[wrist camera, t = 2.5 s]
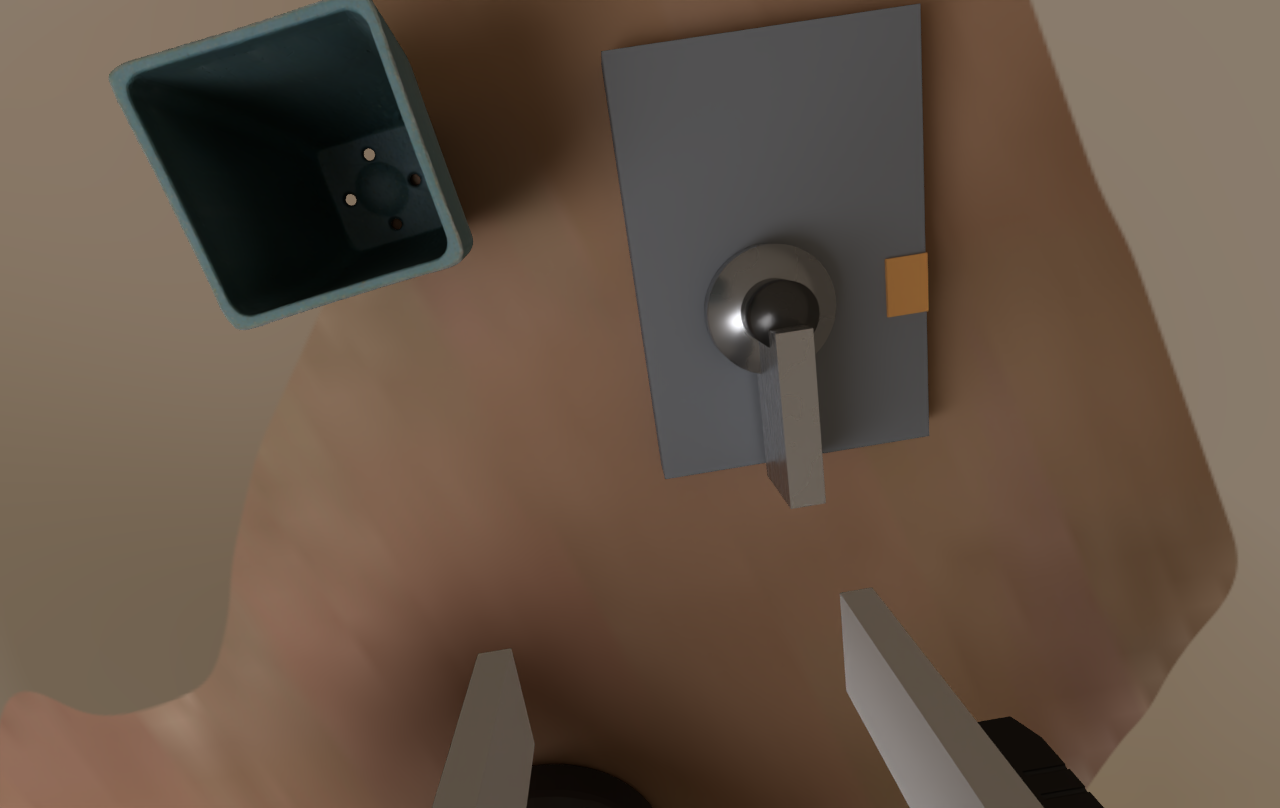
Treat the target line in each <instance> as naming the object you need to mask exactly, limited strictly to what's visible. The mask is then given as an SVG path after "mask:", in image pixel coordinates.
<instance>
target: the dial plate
mask: <svg viewBox="0 0 1280 808" xmlns="http://www.w3.org/2000/svg"><path fill="white" fill-rule="evenodd" d="M601 65H602V72H603V78H604V85H605V92H606V98H607V105H608V112H609V118H610V125H611V132H612V138H613V145H614V152H615V158H616V165H617V171H618V178H619V185H620V191H621V198H622V205H623V211H624V218H625V225H626V231H627V238H628V245H629V251H630V258H631V265H632V271H633V278H634V285H635V291H636V298H637V305H638V311H639V318H640V325H641V331H642V338H643V345H644V351H645V358H646V365H647V371H648V378H649V385H650V391H651V398H652V405H653V411H654V418H655V425H656V431H657V438H658V445H659V451H660V458H661V465H662V469H663V472H664V476H665V479H669V478H675V477H681V476H687V475H694V474H700V473H706V472H712V471H718V470H724V469H730V468H736V467H742V466H748V465H754V464H761V463H766V458H765V448H764V438H763V428H762V418H761V407H760V397H759V387H758V377H757V373H753V372H750V371H747V370H745V369H742V368H740V367H738V366H737V365H735V364H734V363H732V362H731V361H730V360H729V359H728V358H726V357H725V356H724V355H723V354H722V353H721V352H720V351H719V350H718V348H717V347H716V346H715V344H714V343H713V341H712V340H711V338H710V336H709V334H708V331H707V327H706V323H705V318H704V303H705V297H706V293H707V290H708V287H709V284H710V282H711V280H712V278H713V276H714V275H715V273H716V272H717V270H718V269H719V268H720V267H721V266H722V264H723V263H724V262H726V261H727V260H728V259H729V258H730V257H731V256H733V255H734V254H736V253H737V252H739V251H741V250H743V249H746V248H748V247H751V246H755V245H759V244H786V245H791V246H794V247H797V248H800V249H802V250H804V251H806V252H808V253H809V254H811V255H812V256H814V257H815V258H816V259H817V260H818V261H819V262H820V263H821V264H822V265H823V267H824V268H825V269H826V271H827V273H828V274H829V276H830V278H831V281H832V283H833V286H834V290H835V295H836V315H835V320H834V324H833V327H832V330H831V332H830V334H829V336H828V338H827V340H826V342H825V343H824V345H823V346H822V347H821V349H820V350H819V351H818V352H817V353H816V354H815V361H816V375H817V389H818V403H819V417H820V430H821V444H822V453H828V452H834V451H840V450H846V449H852V448H858V447H864V446H870V445H876V444H882V443H889V442H895V441H901V440H907V439H913V438H919V437H925V436H929V406H928V356H927V311H929V300H928V253H925V207H924V158H923V108H922V59H921V9H920V4H914V5H907V6H901V7H894V8H887V9H881V10H874V11H867V12H861V13H854V14H847V15H841V16H834V17H827V18H820V19H814V20H807V21H800V22H794V23H787V24H780V25H774V26H767V27H760V28H754V29H747V30H740V31H734V32H727V33H720V34H714V35H707V36H700V37H694V38H687V39H680V40H674V41H667V42H660V43H654V44H647V45H640V46H634V47H627V48H620V49H614V50H607V51H601Z"/></svg>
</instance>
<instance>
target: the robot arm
mask: <svg viewBox="0 0 1280 808" xmlns="http://www.w3.org/2000/svg"><path fill="white" fill-rule="evenodd" d="M840 604H841V619H842V634H843V649H844V663H845V678H846V691H847V693H848V695H849V697H850V699H851V700H852V702H853V704H854V706H855V708H856V710H857V711H858V713H859V715H860V717H861V719H862V721H863V722H864V724H865V726H866V728H867V730H868V732H869V734H870V735H871V737H872V739H873V741H874V743H875V745H876V746H877V748H878V750H879V752H880V754H881V756H882V757H883V759H884V761H885V763H886V765H887V767H888V768H889V770H890V772H891V774H892V776H893V778H894V780H895V781H896V783H897V785H898V787H899V789H900V791H901V792H902V794H903V796H904V798H905V800H906V802H907V803H908V805H909V807H910V808H1104V807H1103V806H1102V805H1101V804H1100V803H1099V802H1098V801H1097V799H1096V798H1095V797H1094V796H1093V795H1092V794H1091V793H1090V792H1087V791H1086V789H1085V786H1084V785H1083V784H1082V783H1081V781H1080V780H1079V779H1078V778H1077V777H1076V776H1075V775H1074V773H1073V772H1072V771H1071V770H1070V769H1067V768H1066V766H1065V763H1064V762H1063V761H1062V760H1061V759H1060V758H1059V757H1058V755H1057V754H1056V753H1055V752H1054V751H1053V750H1052V749H1051V748H1050V746H1049V745H1048V744H1047V743H1046V742H1045V741H1044V740H1043V738H1042V737H1040V736H1039V735H1037V734H1036V733H1034V732H1033V731H1031V730H1030V729H1028V728H1027V727H1025V726H1024V725H1022V724H1021V723H1019V722H1018V721H1016V720H1015V719H1013V718H1012V717H1004V718H998V719H993V720H987V721H981V722H977V721H976V720H975V719H974V717H973V716H972V715H971V714H970V712H969V711H968V710H967V709H966V707H965V706H964V705H963V703H962V702H961V701H960V700H959V698H958V697H957V696H956V694H955V693H954V692H953V691H952V689H951V688H950V687H949V685H948V684H947V683H946V682H945V680H944V679H943V678H942V676H941V675H940V674H939V673H938V671H937V670H936V669H935V667H934V666H933V665H932V664H931V662H930V661H929V660H928V659H927V657H926V656H925V655H924V653H923V652H922V651H921V650H920V648H919V647H918V646H917V644H916V643H915V642H914V641H913V639H912V638H911V637H910V635H909V634H908V633H907V632H906V630H905V629H904V628H903V626H902V625H901V624H900V623H899V621H898V620H897V619H896V617H895V616H894V615H893V614H892V612H891V611H890V610H889V609H888V607H887V606H886V605H885V603H884V602H883V601H882V600H881V598H880V597H879V596H878V594H877V593H876V592H875V591H874V589H873V588H866V589H860V590H854V591H848V592H843V593H840ZM534 747H535V743H534V739H533V735H532V731H531V727H530V723H529V719H528V714H527V710H526V706H525V702H524V698H523V694H522V690H521V686H520V682H519V678H518V673H517V669H516V665H515V661H514V657H513V653H512V649H511V648H510V649H504V650H498V651H492V652H486V653H480V654H478V656H477V659H476V663H475V666H474V669H473V673H472V676H471V679H470V683H469V686H468V689H467V693H466V696H465V699H464V703H463V706H462V709H461V713H460V716H459V719H458V723H457V726H456V730H455V733H454V736H453V740H452V743H451V746H450V750H449V753H448V756H447V760H446V763H445V766H444V770H443V773H442V776H441V780H440V783H439V786H438V790H437V793H436V796H435V800H434V803H433V806H432V808H652V807H651V805H650V804H649V803H648V802H647V801H646V800H645V799H644V798H643V797H642V796H641V795H640V794H639V793H638V792H637V791H636V790H634V789H633V788H632V787H630V786H629V785H627V784H626V783H624V782H622V781H621V780H619V779H617V778H615V777H613V776H610V775H608V774H605V773H603V772H600V771H597V770H593V769H589V768H585V767H579V766H572V765H538V766H532V762H533V754H534Z"/></svg>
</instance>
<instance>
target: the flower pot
mask: <svg viewBox="0 0 1280 808" xmlns="http://www.w3.org/2000/svg"><path fill="white" fill-rule="evenodd" d="M109 82H110V85H111V87H112V89H113V92H114V94H115V96H116V99H117V102H118V103H119V105H120V107H121V108H122V110H123V112H124V115H125V117H126V118H127V121H128V124H129V125H130V127H131V129H132V130H133V132H134V134H135V136H136V139H137V141H138V143H139V144H140V146H141V148H142V150H143V152H144V153H145V155H146V156H147V159H148V162H149V163H150V165H151V167H152V168H153V170H154V172H155V175H156V177H157V179H158V181H159V183H160V184H161V186H162V188H163V190H164V192H165V194H166V197H167V198H168V200H169V203H170V205H171V206H172V209H173V210H174V213H175V215H176V217H177V219H178V221H179V222H180V225H181V227H182V229H183V230H184V233H185V235H186V237H187V239H188V241H189V243H190V244H191V247H192V249H193V251H194V253H195V255H196V256H197V259H198V261H199V263H200V265H201V267H202V269H203V271H204V273H205V275H206V278H207V280H208V282H209V284H210V286H211V288H212V290H213V293H214V295H215V297H216V299H217V302H218V304H219V306H220V308H221V310H222V312H223V313H224V315H225V317H226V318H227V319H228V321H229V322H230V323H231V324H232V325H233V326H234V327H235V328H236V329H240V330H247V329H252V328H256V327H259V326H263V325H265V324H268V323H270V322H273V321H276V320H280V319H283V318H286V317H289V316H292V315H295V314H298V313H301V312H304V311H307V310H310V309H313V308H317V307H320V306H323V305H326V304H329V303H332V302H335V301H339V300H342V299H346V298H349V297H352V296H355V295H358V294H361V293H365V292H368V291H371V290H374V289H377V288H381V287H384V286H388V285H391V284H394V283H397V282H401V281H404V280H408V279H411V278H414V277H418V276H421V275H424V274H428V273H432V272H436V271H440V270H443V269H446V268H449V267H452V266H455V265H456V264H458V263H459V262H460V261H461V260H462V259H464V258H465V256H466V255H467V254H468V253H469V252H470V250H471V248H472V245H473V238H472V234H471V231H470V229H469V226H468V223H467V220H466V218H465V215H464V212H463V209H462V207H461V204H460V201H459V198H458V196H457V193H456V190H455V187H454V185H453V182H452V179H451V176H450V174H449V171H448V168H447V165H446V163H445V160H444V157H443V154H442V152H441V149H440V146H439V143H438V140H437V138H436V135H435V132H434V129H433V127H432V124H431V121H430V118H429V115H428V113H427V110H426V107H425V104H424V102H423V99H422V96H421V93H420V90H419V87H418V84H417V81H416V78H415V76H414V73H413V70H412V67H411V65H410V63H409V61H408V59H407V56H406V55H405V53H404V52H403V50H402V48H401V47H400V45H399V43H398V42H397V40H396V38H395V37H394V35H393V33H392V32H391V30H390V29H389V27H388V25H387V24H386V22H385V21H384V19H383V17H382V16H381V14H380V13H379V11H378V10H377V8H376V6H375V5H374V3H373V1H372V0H322V1H319V2H317V3H314V4H309V5H307V6H304V7H301V8H298V9H296V10H292V11H290V12H287V13H284V14H281V15H278V16H274V17H273V18H269V19H265V20H263V21H261V22H256V23H253V24H250V25H247V26H244V27H240V28H237V29H235V30H233V31H229V32H225V33H222V34H219V35H215V36H211V37H207V38H205V39H202V40H198V41H195V42H191V43H189V44H184V45H181V46H178V47H176V48H171V49H168V50H165V51H162V52H158V53H155V54H151V55H147V56H145V57H141V58H138V59H134V60H131V61H128V62H125V63H123V64H121V65H119V66H118V67H116V68H115V69H114V70H113V71H112V72H111V73H110V74H109ZM367 148H370V149H372V150H373V151H374V152H375V157H374V159H373V160H371V161H368V160H367V159H366V158H365V157H364V151H365V150H366V149H367ZM412 174H417V175H418V176H419V177H420V179H421V181H420V184H419V185H413V184H412V183H411V182H410V177H411V175H412ZM348 194H353V195H354V196H355V197H356V199H357V202H356V204H355V205H353V206H351V205H348V204H347V203H346V196H347V195H348ZM393 219H399V220H400V221H401V222H402V227H401V228H400V229H394V228H393V227H392V225H391V222H392V220H393Z"/></svg>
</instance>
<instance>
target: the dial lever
mask: <svg viewBox="0 0 1280 808" xmlns="http://www.w3.org/2000/svg"><path fill="white" fill-rule="evenodd" d="M835 315H836V295H835V290H834V286H833V283H832V281H831V278H830V276H829V274H828V273H827V271H826V269H825V268H824V267H823V265H822V264H821V263H820V262H819V261H818V260H817V259H816V258H815V257H814V256H812V255H811V254H809V253H808V252H806V251H804V250H802V249H800V248H797V247H794V246H791V245H786V244H759V245H755V246H751V247H748V248H746V249H743V250H741V251H739V252H737V253H736V254H734V255H733V256H731V257H730V258H729V259H728V260H727V261H726V262H724V263H723V264H722V266H721V267H720V268H719V269H718V270H717V272H716V273H715V275H714V276H713V278H712V280H711V282H710V284H709V287H708V290H707V293H706V297H705V303H704V318H705V323H706V327H707V331H708V334H709V336H710V338H711V340H712V341H713V343H714V344H715V346H716V347H717V348H718V350H719V351H720V352H721V353H722V354H723V355H724V356H725V357H726V358H728V359H729V360H730V361H731V362H732V363H734V364H735V365H737V366H738V367H740V368H742V369H745V370H747V371H750V372H753V373H757V377H758V387H759V397H760V407H761V418H762V428H763V438H764V448H765V458H766V468H767V476H768V477H769V479H770V480H771V481H772V483H773V484H774V486H775V487H776V489H777V490H778V491H779V493H780V494H781V496H782V497H783V498H784V500H785V501H786V503H787V504H788V506H789V507H790V508H791V509H793V508H799V507H805V506H811V505H817V504H823V503H826V500H825V486H824V472H823V458H822V444H821V430H820V417H819V403H818V389H817V375H816V361H815V354H816V353H817V352H818V351H819V350H820V349H821V347H822V346H823V345H824V343H825V342H826V340H827V338H828V336H829V334H830V332H831V330H832V327H833V324H834V320H835Z"/></svg>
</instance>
